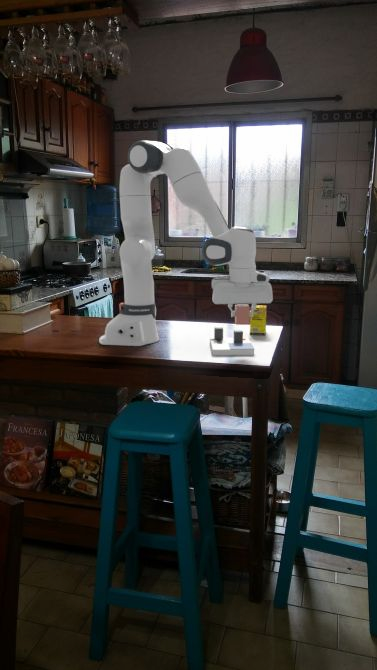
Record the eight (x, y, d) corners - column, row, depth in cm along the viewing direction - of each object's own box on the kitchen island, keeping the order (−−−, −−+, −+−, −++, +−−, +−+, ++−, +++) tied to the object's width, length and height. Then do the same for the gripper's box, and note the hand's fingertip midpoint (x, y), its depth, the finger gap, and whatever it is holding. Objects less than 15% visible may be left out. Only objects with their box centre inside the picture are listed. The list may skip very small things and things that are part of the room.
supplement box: (265, 335, 211) (265, 307, 208) (249, 334, 212) (250, 307, 209) (266, 332, 216) (266, 305, 214) (251, 331, 217) (251, 304, 215)
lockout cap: (236, 324, 181) (236, 306, 180) (234, 321, 186) (235, 304, 184) (249, 324, 181) (249, 306, 180) (247, 321, 186) (248, 304, 184)
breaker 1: (214, 339, 194) (214, 328, 194) (214, 338, 197) (214, 327, 196) (223, 339, 195) (223, 328, 194) (222, 338, 197) (222, 327, 196)
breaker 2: (234, 343, 189) (234, 331, 188) (233, 341, 192) (233, 330, 191) (242, 343, 189) (242, 331, 188) (241, 341, 192) (242, 330, 191)
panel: (212, 355, 182) (212, 348, 181) (209, 343, 199) (210, 337, 198) (254, 354, 182) (254, 348, 182) (247, 342, 199) (247, 336, 198)
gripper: (212, 277, 177) (212, 318, 180) (274, 276, 177) (273, 317, 180) (210, 275, 183) (211, 315, 186) (270, 274, 183) (270, 314, 186)
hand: (242, 316), depth 183 cm, fingers closed on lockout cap, 4 cm apart
